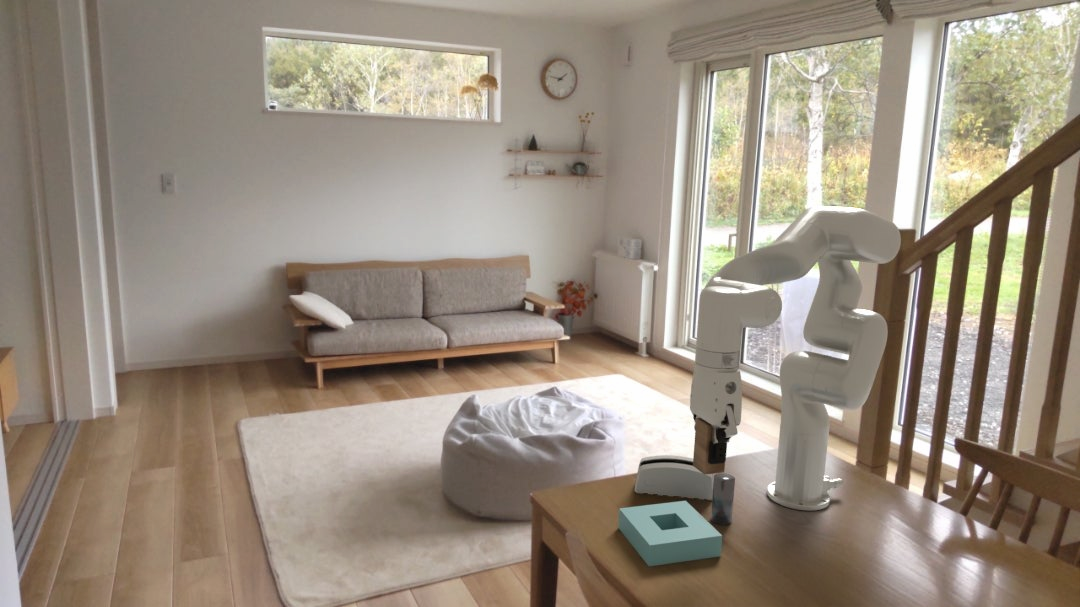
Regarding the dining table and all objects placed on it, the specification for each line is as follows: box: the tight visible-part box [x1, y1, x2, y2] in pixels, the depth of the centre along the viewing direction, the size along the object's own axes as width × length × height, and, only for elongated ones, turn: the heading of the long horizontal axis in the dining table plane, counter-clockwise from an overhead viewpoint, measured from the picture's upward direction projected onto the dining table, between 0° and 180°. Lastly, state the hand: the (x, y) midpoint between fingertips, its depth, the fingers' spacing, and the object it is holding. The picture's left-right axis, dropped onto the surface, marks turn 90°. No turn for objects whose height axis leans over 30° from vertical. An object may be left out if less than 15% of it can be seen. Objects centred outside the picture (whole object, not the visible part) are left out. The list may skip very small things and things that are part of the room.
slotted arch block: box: [634, 454, 714, 501], centre depth 153 cm, size 17×5×10 cm, turn 80°
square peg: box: [692, 418, 726, 475], centre depth 128 cm, size 4×4×9 cm
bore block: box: [617, 500, 723, 567], centre depth 133 cm, size 14×14×4 cm
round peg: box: [710, 472, 736, 526], centre depth 142 cm, size 4×4×9 cm
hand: (709, 456), depth 129 cm, fingers closed on square peg, 4 cm apart
